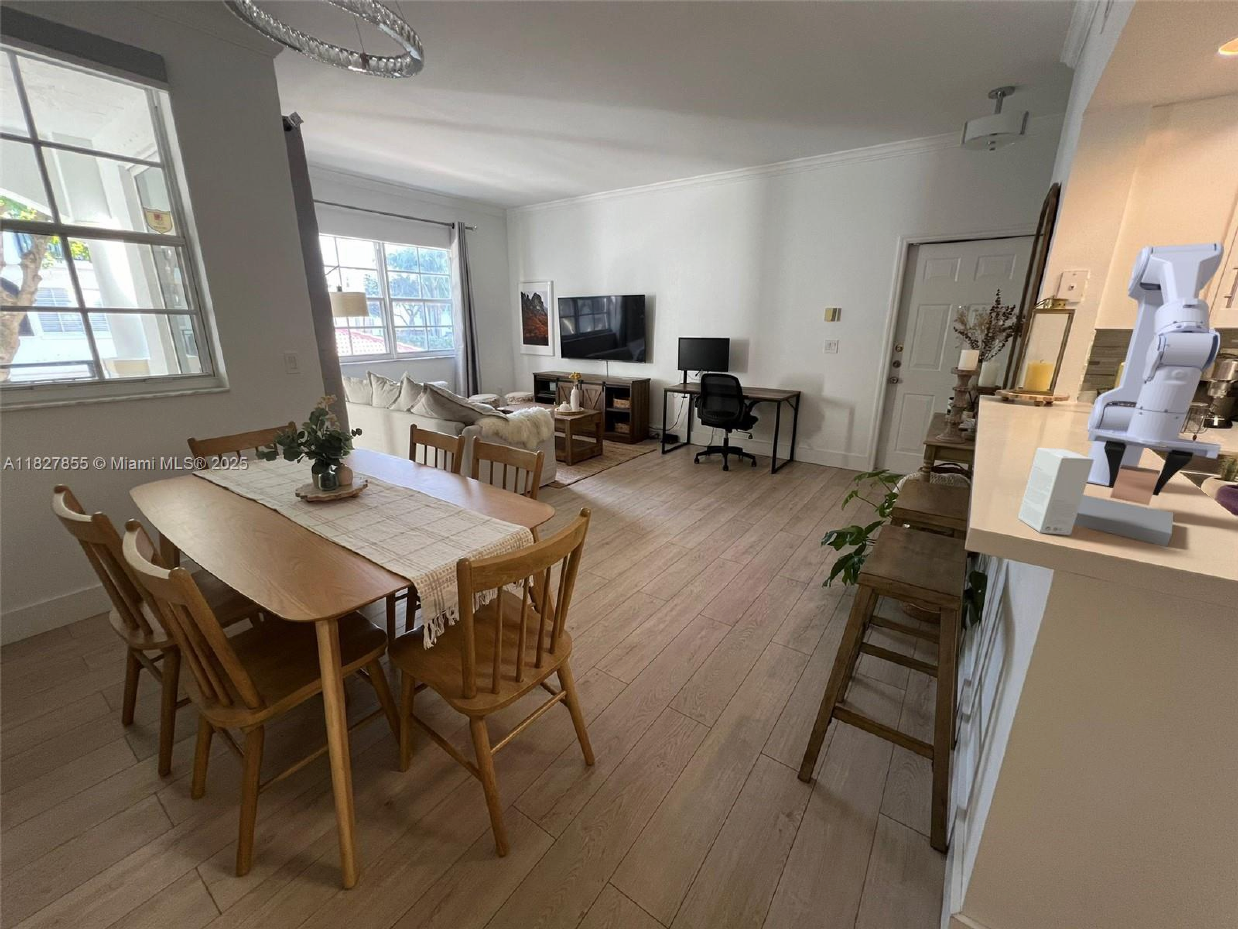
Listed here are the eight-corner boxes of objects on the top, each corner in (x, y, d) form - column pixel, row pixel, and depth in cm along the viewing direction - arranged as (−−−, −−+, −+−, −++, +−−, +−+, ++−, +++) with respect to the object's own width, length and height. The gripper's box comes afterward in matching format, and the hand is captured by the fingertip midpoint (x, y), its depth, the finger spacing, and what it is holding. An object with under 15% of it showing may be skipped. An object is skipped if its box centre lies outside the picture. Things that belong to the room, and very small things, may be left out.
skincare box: (1071, 536, 72) (1096, 459, 68) (1039, 533, 72) (1061, 457, 69) (1046, 520, 77) (1067, 448, 74) (1016, 518, 78) (1035, 446, 75)
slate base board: (1068, 503, 85) (1071, 492, 84) (1168, 524, 76) (1173, 512, 76) (1056, 520, 77) (1060, 508, 77) (1166, 546, 69) (1171, 533, 68)
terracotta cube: (1112, 491, 84) (1121, 464, 83) (1149, 498, 81) (1160, 470, 79) (1110, 497, 81) (1119, 469, 80) (1148, 505, 78) (1159, 476, 77)
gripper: (1095, 406, 79) (1071, 483, 83) (1233, 420, 69) (1198, 508, 73) (1100, 401, 84) (1077, 475, 88) (1230, 414, 73) (1198, 497, 77)
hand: (1132, 489), depth 81 cm, fingers closed on terracotta cube, 4 cm apart
